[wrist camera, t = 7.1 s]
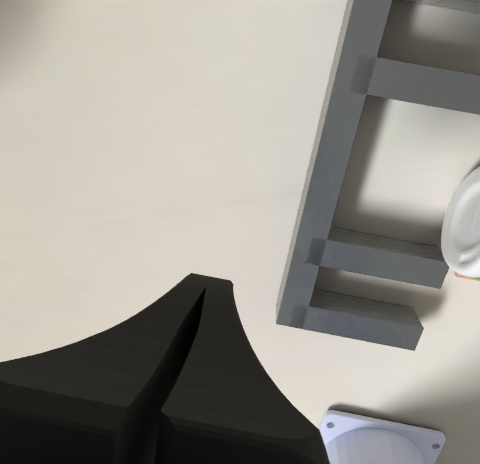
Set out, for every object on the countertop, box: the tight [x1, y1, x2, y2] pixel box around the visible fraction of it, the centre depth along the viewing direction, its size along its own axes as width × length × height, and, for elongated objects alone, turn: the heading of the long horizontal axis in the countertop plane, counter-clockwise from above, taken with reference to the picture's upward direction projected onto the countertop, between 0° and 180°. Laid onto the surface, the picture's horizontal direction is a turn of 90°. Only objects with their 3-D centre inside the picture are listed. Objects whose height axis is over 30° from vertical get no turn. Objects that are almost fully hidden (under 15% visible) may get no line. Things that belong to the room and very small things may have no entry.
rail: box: [276, 0, 480, 351], centre depth 20 cm, size 18×8×2 cm, turn 171°
